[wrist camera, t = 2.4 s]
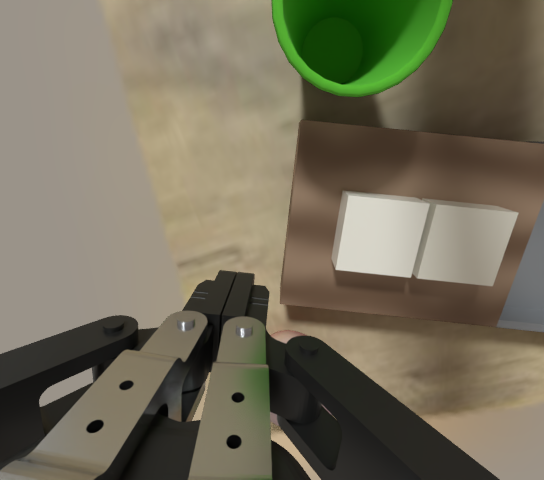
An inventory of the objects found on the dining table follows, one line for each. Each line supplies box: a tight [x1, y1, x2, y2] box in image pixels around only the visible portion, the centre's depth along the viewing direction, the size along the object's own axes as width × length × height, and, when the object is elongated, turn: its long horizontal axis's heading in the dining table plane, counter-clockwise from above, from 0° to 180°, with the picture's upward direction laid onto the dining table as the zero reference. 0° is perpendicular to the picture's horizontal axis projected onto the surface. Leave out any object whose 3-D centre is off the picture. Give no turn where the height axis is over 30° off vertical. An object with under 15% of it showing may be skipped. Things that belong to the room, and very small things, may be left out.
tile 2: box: [412, 198, 518, 286], centre depth 25 cm, size 6×6×2 cm
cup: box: [272, 0, 453, 97], centre depth 20 cm, size 9×9×11 cm
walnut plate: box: [280, 120, 544, 327], centre depth 28 cm, size 16×20×4 cm
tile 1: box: [331, 190, 430, 278], centre depth 25 cm, size 6×6×2 cm
